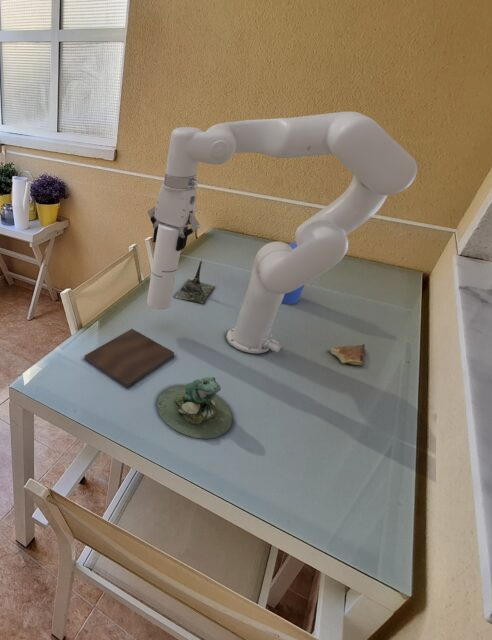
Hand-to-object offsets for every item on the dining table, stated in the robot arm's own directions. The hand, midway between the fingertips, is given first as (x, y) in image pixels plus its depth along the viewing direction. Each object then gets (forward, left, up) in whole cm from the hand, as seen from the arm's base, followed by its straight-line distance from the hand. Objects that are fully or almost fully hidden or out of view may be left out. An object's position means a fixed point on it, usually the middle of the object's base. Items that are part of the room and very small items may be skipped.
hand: (168, 244), depth 118 cm
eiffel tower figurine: (+4, -30, -29) cm, 42 cm away
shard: (-46, -32, -29) cm, 63 cm away
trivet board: (-5, +18, -28) cm, 34 cm away
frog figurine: (-30, +22, -29) cm, 47 cm away
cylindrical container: (0, 0, -19) cm, 19 cm away
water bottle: (-19, -51, -29) cm, 61 cm away
